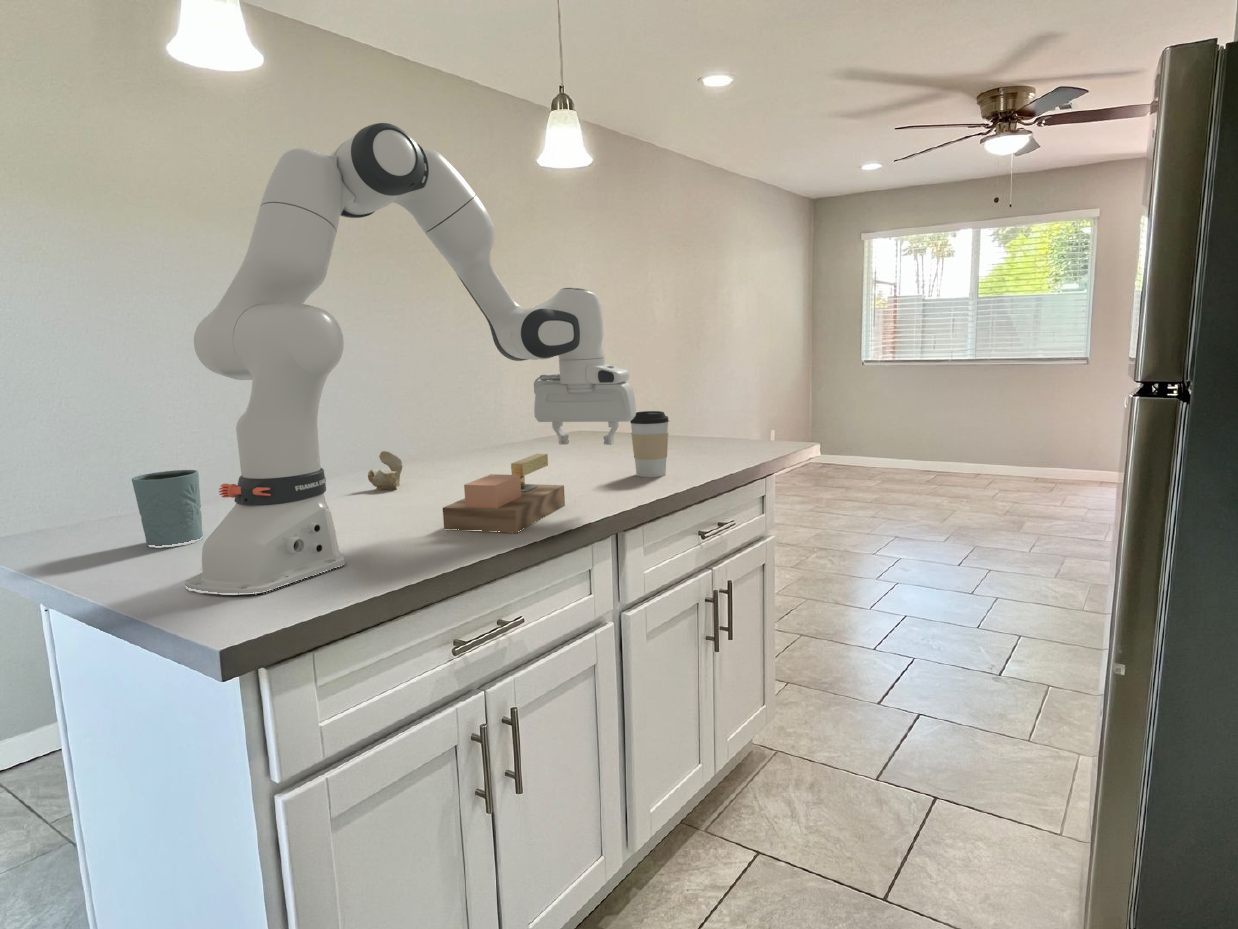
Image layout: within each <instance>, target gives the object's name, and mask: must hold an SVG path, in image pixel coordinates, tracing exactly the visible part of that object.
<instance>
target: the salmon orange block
mask: <svg viewBox="0 0 1238 929" xmlns="http://www.w3.org/2000/svg"><path fill="white" fill-rule="evenodd" d="M463 487H464V489H463V490H464V491H463V492H464V498H465V505H466V507H473V508H499V507H501V506H503V505H505V504H507V503H509V502H511V501H513V500H515V499H517V498H519V497H521V481H520V475H512V474H499V473H498V474H496V473H495V474H493V473H492V474H491V473H490V474H488V475H486V476H483V477H480V478H478V479H475V480H473V481H470V482H467V483H465V484H464V485H463Z"/></svg>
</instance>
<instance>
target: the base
mask: <svg viewBox="0 0 1238 929" xmlns="http://www.w3.org/2000/svg"><path fill="white" fill-rule="evenodd" d="M565 498H566V497H565V485H563V484H562V485H561V484H534V483H533V484H531V483H530V484H529V483H525V488H521V497H519V498H517V499H515V500H513V501H511V502H509V503H507V504H505V505H503V506H501V507H499V508H473V507H466V505H465V497H464V498H463V499H460V500H457V501H454V502H452V503H450V504H448V505H446V506H445V505H444V506H443V507H442V519H443V530H444V529H457V530H458V529H459V530H482V531H497V532H498V531H500V532H513V533H512V534H518V533H519V532H518V531H520V530H522V529H523V528H525V529H527V528H528V526H529V525H530V526H532V525H533V524H532V523H534V522H535V521H537V522H539V521H540V519H541V518H542V519H544V518H545V516H546V515H547V516H549V515H551V514H553V513H554V512H556V511H557V510H559V509H562V508H563V507H565V505H566V501H565ZM547 516H546V517H547ZM543 517H544V518H543ZM542 519H541V520H542ZM538 520H539V521H538ZM535 523H536V522H535ZM535 523H534V524H535ZM531 524H532V525H531ZM530 526H529V527H530ZM526 527H527V528H526ZM457 530H456V531H457ZM523 530H524V529H523ZM523 530H522V531H523ZM497 532H496V533H497ZM517 532H518V533H517ZM520 532H521V531H520Z"/></svg>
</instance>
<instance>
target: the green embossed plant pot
mask: <svg viewBox="0 0 1238 929" xmlns="http://www.w3.org/2000/svg"><path fill="white" fill-rule="evenodd" d="M199 476H200V475H199V471H198V470H196V469H180V470H178V469H177V470H176V469H175V470H168V471H167V470H166V471H165V470H164V471H158V472H151V473H145V474H140V475H136V476H134V477H132V478H131V482H132V487H133V491H134V494H135V499H136V504H137V507H138V511H139V512H138V513H139V515H140V518H141V519H140V520H141V525H142V528H143V533H144V536H145V537H144V538H145V541H146V542H145V543H146V545H147V544H148V545H155V546H162V545H172V544H178V543H184V542H189V541H191V540H197V539H200V538H201V537H202V536H203V537H204V535H203V520H202V517H203V516H202V510H201V508H202V507H201V506H202V504H201V491H200V490H201V489H200V477H199Z"/></svg>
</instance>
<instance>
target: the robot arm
mask: <svg viewBox="0 0 1238 929" xmlns="http://www.w3.org/2000/svg"><path fill="white" fill-rule="evenodd" d="M393 203H394V204H396V205H399V206H401V207H402V208H404V209H405V210H407V212H408V213H410V215H411V216H412V217H413V218H414V220H415V221H416V223H417V225H418V226H419V227H420V228H421V230H422V231H423V232H424V234H425V235H426V236H427V238H428V239H429V240H430V242H431V243H432V244H433V245H434V247H435V248H436V249H437V250H438V252H439V253H440V254H441V255H442V256H443V258H444V259H445V260H446V261H447V263H448V264H449V266H450V267H451V268H452V270H453V271H454V273H455V274H456V275H457V277H458V279H459V280H460V282H461V283H462V284H463V286H464V287H465V290H467V292H468V294H470V296H471V298H472V300H473V301H474V302H475V304H476V306H477V307H478V308H479V310H480V311H481V313H482V314H483V316H484V317H485V319H486V321H487V323H488V326H489V329H490V332H491V336H492V340H493V343H494V345H495V347H496V348H497V351H498V352H499V353H500V354H501V355H502V356H503V357H505V358H507V359H509V360H510V361H515V362H516V361H517V362H524V361H528V360H536V361H537V360H549V359H551V358H554V357H557V356H558V365H559V366H558V368H559V370H558V371H559V373H558V374H541V375H539V377H537V378H536V379H535V380H534V381H533V392H534V395H535V396H534V407H533V408H534V418H535V420H536V421H537V422H538V423H551V424H552V425H551V427H552V429H553V431H554V433H555V434H556V436H557V437H558V438H557V439H558V445H568V444H569V442H570V441H569V439H570V438H569V434H565V433H564V431H563V429H562V427H563V425H564V423H580V422H581V423H595V422H596V423H601V422H602V423H605V422H607V423H608V424H607V426H608V428H610V430H609V432H608V434H606V435H603V445H604V446H613V445H614V442H615V441H614V439H615V438H614V435H615V434H616V432H617V430H618V428H619V425H620V424H619V422H623V423H625V422H630V421H631V420H633V418H634V417H635V416H636V412H637V407H636V406H637V404H636V398H635V392H634V389H633V387H632V385H631V384H630V383H629V382H627V381H629V379H630V372H629V370H628V369H624V368H621V367H618V366H614V365H613V364H612V365H611V364H608V363H605V362H606V361H605V360H606V358H605V354H604V353H605V352H604V350H603V339H604V322H603V315H602V314H603V313H602V311H603V310H602V307H601V302H600V300H599V299H600V298H599V297H598V295H597V294H596V293H595V292H593V291H591V290H589V289H584V288H578V287H563V288H560V289H559V290H558V292H556V293H555V295H553V296H552V297H551V298H549V299H547V300H545V301H544V302H542V303H539V304H537V305H535V306H534V307H529V308H525V307H523V306H521V305H520V304H518V303H517V302H516V301H515V300H514V299H513V297H512V296H511V294H510V293H509V291H508V290H507V288H506V286H505V285H504V283H503V282H502V280H501V279H500V277H499V276H498V274H497V272H496V271H495V269H494V266H493V264H492V259H491V251H492V248H493V245H494V244H495V239H496V238H495V237H496V236H495V235H496V229H495V228H496V227H495V225H494V222H493V220H492V219H491V216H490V214H489V212H488V211H487V208H486V207H485V205H484V204H483V202H482V201H481V199H480V198H479V196H478V195H477V194H476V192H475V191H474V190H473V188H472V187H471V186H470V184H469V183H468V182H467V181H466V180H465V178H464V177H463V176H462V175H461V173H459V171H458V170H457V169H456V168H455V167H454V166H453V165H452V164H451V163H450V162H449V160H447V158H445V157H444V156H443V155H442V154H441V153H440V152H438V151H437V150H434V149H432V148H431V149H430V148H423V147H422V146H421V145H420V144H419V143H417V142H416V141H415V140H414V138H413V137H412V136H410V134H408V132H406V131H404V130H403V129H401V128H400V127H398V126H396V125H394V124H392V123H387V122H377V123H373V124H369V125H367V126H365V127H363V128H361V129H360V130H359V131H358V132H356V134H354V135H352V136H351V137H350V138H349V139H347V140H345V141H344V142H342V143H341V144H340V145H339V146H338V147H337V148H336V149H334V151H333V152H332V153H331V154H330V155H325V154H324V153H322V152H319V151H318V150H314V149H311V148H305V147H304V148H302V147H297V148H293V149H289V150H288V151H286V152H284V153H283V154H282V155H281V156H280V158H279V159H278V161H277V163H276V165H275V167H274V169H273V171H272V173H271V175H270V177H269V179H268V181H267V184H266V187H265V189H264V193H263V194H262V199H261V202H260V205H259V208H258V213H257V216H256V219H255V224H254V227H253V231H252V234H251V236H250V237H251V238H250V241H249V244H248V248H247V251H246V254H245V256H244V259H243V260H242V262H241V264H240V267H239V269H238V271H237V272H236V274H235V275H234V278H233V280H232V281H231V283H230V285H229V286H228V287H227V289H226V291H225V293H224V294H223V296H222V297H221V299H220V300H219V302H218V303H217V305H216V307H215V308H213V310H212V311H211V312H210V313H208V315H207V316H205V317H203V319H201V321H199V323H198V325H197V326H196V328H195V330H194V331H195V332H194V335H193V348H194V351H195V354H196V357H197V358H198V360H199V361H200V363H201V364H202V365H203V366H204V367H205V368H206V369H208V370H209V371H211V372H213V373H215V374H218V375H221V376H223V377H226V378H230V379H233V380H239V381H252V383H251V390H250V391H251V392H250V395H249V396H250V397H249V402H248V403H247V408H246V410H244V413H243V414H242V415H241V416H240V417H238V420H237V422H236V426H235V431H236V440H237V449H238V454H239V455H238V456H239V458H238V459H239V464H240V473H241V474H240V476H239V477H238V481H237V484H235V483H231V484H230V483H222V484H220V486H219V488H218V490H219V491H218V493H219V496H221V498H224V499H225V498H232V499H233V500H234V503H235V505H234V506H233V507H232V508H231V510H230V511H229V512H228V513H227V514H226V516H225V517H224V519H223V520H222V521H221V522H220V524H218V525H217V527H216V528H215V529H214V530H213V532H212V533H211V534H210V535H209V536H208V537H207V538H206V540H205V541H204V542H203V546H202V551H201V552H202V553H201V570H202V572H201V573H198V574H197V575H195V576H193V577H190V578H188V579H187V580H185V581H184V586H185V585H186V586H187V587H188V588H191V589H196V590H201V591H208V592H217V593H238V594H239V593H253V592H254V593H255V592H263V591H267V590H269V589H274V588H276V587H278V586H281V585H284V584H286V583H292V582H295V581H296V580H301V579H303V578H305V577H310V576H313V575H315V574H318V573H320V572H323V571H326V570H330V569H332V568H335V567H338V566H341V565H343V564H345V565H346V559H345V556H343V555H342V553H341V551H340V550H339V544H338V539H337V534H336V530H335V523H334V519H333V514H332V511H331V509H330V508H329V506H328V503H327V501H326V497H325V493H326V491H327V478H326V476H325V469H324V468H322V466H321V455H320V444H319V431H318V430H319V428H318V413H319V409H320V408H319V406H320V401H321V397H322V392H323V389H324V386H325V383H326V382H327V379H328V377H329V375H330V373H331V372H332V371H333V370H334V369H335V368H336V367H337V366H338V364H339V363H340V361H341V359H342V356H343V353H344V343H345V342H344V335H343V332H342V328H341V326H340V324H339V322H338V320H337V319H336V318H335V317H334V315H332V314H331V313H330V312H329V311H327V310H325V309H323V308H321V307H317V306H314V305H309V304H307V303H305V302H306V300H308V298H309V297H310V296H311V295H312V294H313V293H314V292H315V291H317V290H318V289H319V288H320V287H321V285H322V284H323V282H324V281H325V279H326V276H327V274H328V269H329V266H330V261H331V256H332V254H333V248H334V244H335V239H336V237H337V231H338V227H339V223H340V217H344V218H349V219H360V218H366V217H369V216H371V215H372V214H374V213H375V212H377V211H379V210H380V209H383V208H385V207H388V206H389V205H391V204H393ZM304 303H305V304H304ZM341 567H342V566H341ZM330 571H331V570H330ZM318 575H319V574H318ZM313 577H314V576H313ZM310 578H311V577H310ZM301 581H302V580H301ZM295 583H296V582H295Z"/></svg>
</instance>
